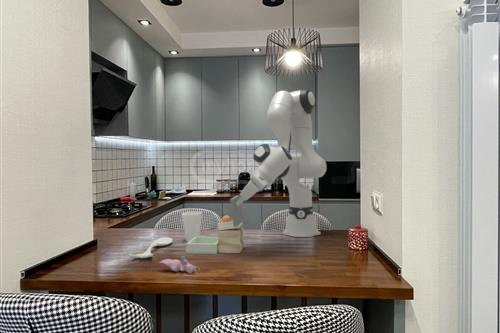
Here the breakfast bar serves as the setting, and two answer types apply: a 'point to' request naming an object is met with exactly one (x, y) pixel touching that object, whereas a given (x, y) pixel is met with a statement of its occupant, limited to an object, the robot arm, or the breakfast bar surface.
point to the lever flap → (233, 216)
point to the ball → (226, 219)
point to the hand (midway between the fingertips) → (238, 203)
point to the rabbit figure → (180, 265)
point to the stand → (230, 240)
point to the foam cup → (192, 224)
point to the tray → (202, 245)
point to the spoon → (157, 242)
